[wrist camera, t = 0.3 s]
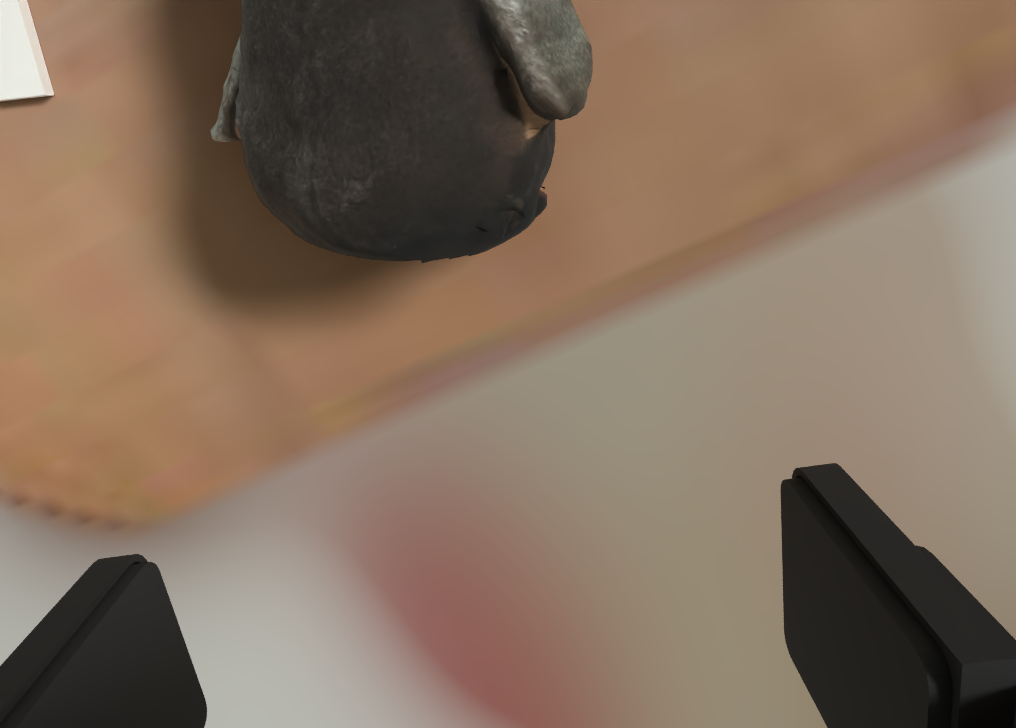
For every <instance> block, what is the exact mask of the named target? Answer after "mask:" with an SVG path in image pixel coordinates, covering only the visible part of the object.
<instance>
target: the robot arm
mask: <svg viewBox="0 0 1016 728" xmlns="http://www.w3.org/2000/svg"><path fill="white" fill-rule="evenodd" d="M781 520H782V521H781V522H782V560H783V561H782V562H783V603H784V633H785V640H786V644H787V648H788V651H789V654H790V656H791V658H792V660H793V662H794V664H795V666H796V668H797V670H798V672H799V674H800V676H801V678H802V680H803V682H804V683H805V685H806V687H807V689H808V691H809V693H810V695H811V697H812V699H813V700H814V703H815V704H816V706H817V708H818V710H819V712H820V714H821V716H822V718H823V720H824V721H825V723H826V725H827V727H828V728H1016V640H1015V639H1014V638H1013V637H1012V636H1011V635H1010V634H1009V633H1008V632H1007V631H1006V630H1005V629H1004V627H1003V626H1002V625H1001V624H1000V623H999V622H998V621H997V620H996V619H995V618H994V617H993V616H992V615H991V614H990V613H989V612H988V611H987V610H986V609H985V608H984V607H983V606H982V605H981V604H980V603H979V602H978V601H977V599H976V598H975V597H974V596H973V595H972V594H971V593H970V592H969V591H968V590H967V589H966V588H965V587H964V586H963V585H962V584H961V583H960V582H959V581H958V580H957V579H956V578H955V577H954V576H953V575H952V574H951V573H950V572H949V571H948V569H947V568H946V567H945V566H944V565H943V564H942V563H941V562H940V561H939V560H938V559H937V558H936V557H935V556H934V555H933V554H932V553H931V552H929V551H928V550H927V549H926V548H924V547H920V546H915V545H914V544H913V543H912V542H911V541H910V540H909V539H908V537H906V535H905V534H904V533H903V532H902V531H901V530H900V529H899V528H898V527H897V526H896V525H895V524H894V523H893V522H892V521H891V520H890V518H889V517H888V516H886V514H885V513H884V512H883V511H882V510H881V509H880V508H879V507H878V506H877V505H876V504H875V503H874V502H873V500H871V499H870V497H869V496H868V495H867V494H866V493H865V492H864V491H863V490H862V489H861V488H860V487H859V486H858V485H857V484H856V482H855V481H854V480H853V479H852V478H851V477H850V476H849V475H848V474H847V473H846V472H845V471H844V470H843V469H842V468H841V467H840V466H839V465H838V464H836V463H832V464H824V465H817V466H809V467H801V468H796V469H795V470H794V471H793V475H792V479H786V480H783V481H782V484H781ZM206 717H207V707H206V701H205V698H204V695H203V692H202V689H201V686H200V684H199V681H198V678H197V675H196V672H195V669H194V667H193V664H192V661H191V658H190V655H189V653H188V649H187V647H186V644H185V641H184V638H183V636H182V633H181V630H180V627H179V624H178V621H177V618H176V616H175V613H174V610H173V607H172V604H171V602H170V599H169V596H168V593H167V590H166V587H165V584H164V582H163V579H162V577H161V573H160V571H159V569H158V567H157V565H156V564H155V563H152V562H147V560H146V559H145V558H144V557H143V556H142V555H139V554H133V555H126V556H119V557H110V558H103V559H98V560H97V561H96V562H94V563H93V564H92V565H91V566H90V567H89V569H88V570H87V571H86V572H85V573H84V574H83V575H82V576H81V577H80V579H79V580H78V581H77V582H76V583H75V584H74V585H73V586H72V587H71V589H70V590H69V591H68V592H67V593H66V594H65V595H64V596H63V597H62V598H61V600H60V601H59V602H58V603H57V604H56V605H55V606H54V607H53V608H52V609H51V611H50V612H49V613H48V614H47V615H46V616H45V617H44V618H43V619H42V621H41V622H40V623H39V624H38V625H37V626H36V627H35V628H34V629H33V630H32V632H31V633H30V634H29V635H28V636H27V637H26V638H25V639H24V640H23V642H22V643H21V644H20V645H19V646H18V647H17V648H16V649H15V650H14V652H13V653H12V654H11V655H10V656H9V657H8V658H7V659H6V661H4V663H3V664H2V665H1V666H0V728H204V726H205V722H206Z"/></svg>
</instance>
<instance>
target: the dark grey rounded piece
mask: <svg viewBox="0 0 1016 728" xmlns="http://www.w3.org/2000/svg"><path fill="white" fill-rule="evenodd" d="M241 6H242V30H241V34H240V37H239V40H238V43H237V45H236V48H235V51H234V53H233V57H232V62H231V66H230V71H229V74H228V77H227V79H226V81H225V83H224V86H223V99H222V103H221V106H220V109H219V113H218V120H217V122H216V124H215V126H214V127H213V128H212V129H211V130H210V132H211V136H212V139H213V140H214V141H217V142H229V141H237V140H242V145H243V150H244V161H245V164H246V166H247V169H248V173H249V176H250V178H251V181H252V184H253V187H254V189H255V191H256V193H257V195H258V197H259V199H260V200H261V202H262V204H263V205H265V206H266V207H267V208H268V209H269V210H270V212H271V213H272V214H273V215H274V216H275V217H277V218H278V219H279V220H280V221H282V222H283V223H284V224H285V225H286V226H287V227H288V228H289V229H290V230H291V231H292V232H293V233H294V234H295V235H297V236H299V237H300V238H302V239H303V240H305V241H307V242H308V243H311V244H313V245H315V246H318V247H321V248H324V249H327V250H330V251H333V252H337V253H340V254H344V255H349V256H354V257H358V258H367V259H375V260H390V261H411V260H421V261H422V263H424V262H428V261H432V260H438V259H443V258H449V259H452V258H457V257H461V256H465V255H468V256H471V255H475V254H479V253H482V252H484V251H487V250H489V249H491V248H493V247H496V246H498V245H500V244H502V243H504V242H505V241H507V240H509V239H511V238H512V237H514V236H516V235H518V234H519V233H521V232H522V231H523V230H525V229H526V228H527V227H528V226H529V225H530V224H531V223H532V222H533V221H534V219H535V218H536V217H537V216H538V215H539V214H541V212H542V211H543V210H544V209H545V208H546V206H547V194H545V193H544V192H542V191H541V190H539V189H540V187H542V186H541V185H542V183H543V181H544V179H545V177H546V175H547V173H548V171H549V168H550V166H551V162H552V157H553V153H554V146H555V119H558V120H563V119H567V118H570V117H572V116H575V115H577V114H578V113H579V112H580V111H581V110H582V109H583V108H584V105H585V102H586V98H587V89H588V87H589V84H590V82H591V76H592V64H593V63H592V49H591V45H590V42H589V39H588V37H587V35H586V33H585V31H584V29H583V27H582V24H581V22H580V20H579V17H578V15H577V13H576V11H575V9H574V7H573V4H572V2H571V0H241ZM542 188H544V189H545V187H542Z"/></svg>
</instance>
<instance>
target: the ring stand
mask: <svg viewBox="0 0 1016 728" xmlns="http://www.w3.org/2000/svg"><path fill="white" fill-rule="evenodd" d="M53 95H54V92H53V89H52V85H51V82H50V78H49V75H48V71H47V68H46V64H45V61H44V58H43V54H42V51H41V47H40V44H39V40H38V37H37V33H36V30H35V27H34V23H33V20H32V16H31V13H30V9H29V6H28V2H27V0H0V102H1V101H9V100H18V99H27V98H36V97H45V96H53Z"/></svg>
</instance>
